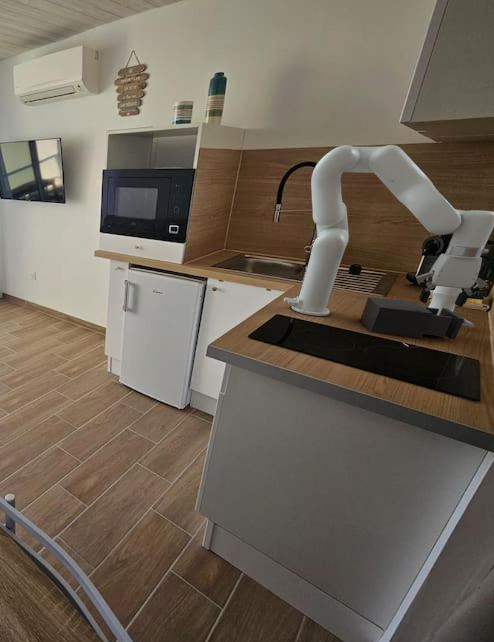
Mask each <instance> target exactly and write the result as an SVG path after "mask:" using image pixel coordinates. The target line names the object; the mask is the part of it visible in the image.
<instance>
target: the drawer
mask: <svg viewBox="0 0 494 642" xmlns="http://www.w3.org/2000/svg"><path fill="white" fill-rule="evenodd" d="M423 307H424V308H426V309H427V310H429V311H430V312H432V313H433V314H432V317H431V319H430V321H429V323H428V326H427V328H426V330H425V332H424V335H427V336H433V337H434V336H435V337H441V338H442V337H446V338H448V339H449V340H454V341H455V340H456V338H457V336H458V334H459V333H460V330H461V329H462V326H463V327H464V326H465V327H468V328H469V329H473V328H475V327H476V326H475V324H474V323H472V322H471V321H469V320H467V319H466V318H465V317H462V316H460V315H458V314H457V313H456V312H454V311H453V312H452V311H451V310H449V309H447V308H442V310H441V312H440V315H437V313H438V311H439V309H438V308H429V306H423Z"/></svg>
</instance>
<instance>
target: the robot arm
mask: <svg viewBox="0 0 494 642" xmlns="http://www.w3.org/2000/svg"><path fill="white" fill-rule="evenodd" d="M343 173H363V174H364V173H365V174H366V173H367V174H374V175H376V177H377V178H378V179H379V180H380V181H381V182H382V184H383V185H384V186H385V187H386V188H387V189H388V190H389V192H391V194H392V195H393V196H394V197H395V198H396V199H397V200H398V201H399V202H400V203H402V204H403V205H404V206H405V207H406V208H407V209H408V210H409V211H410V212H411V214H413V215H414V217H415V218H416V219H417V220H418V221H419V223H420V224H421V225H422V226H423V228H425V229H426V230H427V231H428V232H429V233H430V234H432V235H437V236H443V235H447V234H451V233H453V234H452V236H451V238H450V241H449V244H448V246H447V248H446V251H445V253H441V254H439V256H438V258H437V259H436V261H434V263H433V265H432V267H431V269H430V271H429V272H427V273H424V274H421V275H417V276H416V277H415V279H416V281H417V284H418V286H419V287H420V288H421V293H420V295H419V302H421V303H423V304H427V303H428V301H429V298H430V296H431V295H432V294H431V293H432V292H431V290H433V289H434V288H436V286H444V287H455V288H461V290H462V293H459V295H458V297H457V299H456V301H455V304H456V305H455V306H457V307H460V308H463V306H464V305H465V304H466V303H467V301H468V299H469V296H472V295H473V294H475V293H477V292H479V291H480V290H481V289H483V288H484V287H486V286H487V285H488V283H487V282H486V281H485V280H483V279H482V278H480V277H478V276H479V273H480V270H481V266H482V260H483V258H482V257H481V256H482V255H485V254H488V252H489V249H488V248H486V244H487V242H488V241H489V238H490V236H491V235H492V232H493V230H494V211H492V210H491V211H490V210H476V209H475V210H473V209H472V210H462V209H455V208H454V206H452V204H451V203H450V202H449V201H448V200H447V199H446V198H445V197H444V196H443V195H442V194H441V193H440V191H438V189H437V188H436V186H435V185H434V184H433V182H432V181H431V179H430V178H429V177H428V176H427V175H426V174H425V173H424V172H423V170H421V169H420V167H419V166H418V165H417V164H416V163H415V162H414V161H413V160H412V158H410V156H409V155H408V154H407V153H406V152H405V151H404V149H402V148H401V147H400V146H398V145H395V144H388V145H383V146H353V145H349V144H343V145H340V146H337V147H335V148H333V149H331V150H330V151H329V152H328V153H325V155H323V157H321V159H320V160H319V161H318V162H317V163H316V165H315V167H314V169H313V171H312V174H311V179H310V180H311V181H310V186H311V187H310V189H311V203H312V204H311V205H312V221H313V222H314V223H315V224H316V225H315V226H316V235H317V236H316V237H315V239H314V241H313V244H312V248H311V252H310V256H309V260H308V264H307V268H306V271H305V274H304V278H303V281H302V285H301V289H300V291H299V296H298V295H297V296H296V297H293V298H290V297H284V298H283V303H287V304H288V305H291V307H290V308H291V309H292V310H293V311H295V312H297V313H300V314H304V315H308V316H315V317H325V316H329V315H330V312H331V311H330V309H329V308H327V306H328V303H329V300H330V297H331V294H332V290H333V287H334V285H335V282H336V278H337V274H338V271H339V269H340V265H341V262H342V259H343V256H344V253H345V251H346V248H347V245H348V244H349V239H350V235H349V223H348V208H347V206H346V204H345V202H343V195H342V181H341V178H342V176H343ZM425 280H426V283H425Z"/></svg>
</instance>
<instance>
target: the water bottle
mask: <svg viewBox="0 0 494 642" xmlns="http://www.w3.org/2000/svg"><path fill="white" fill-rule="evenodd" d="M434 288H435V289H434V290H433V292H432V299H431V302H430V304H429V305H428V307H429V308H438V309H439V311H438V313H437V315H440V312H441V310H442V308H447V309H449V310H451V311H452V312H454V311H455V307H456V306H457V305H456V304H455V301H456V299H457V297H458V295H459V293H462V290H461V288H455V287H444V286H436V287H434Z"/></svg>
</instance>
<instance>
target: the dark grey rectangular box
mask: <svg viewBox="0 0 494 642" xmlns="http://www.w3.org/2000/svg"><path fill="white" fill-rule="evenodd" d="M424 307H425V306H423V305H421V304H420V303H418V302H417V301H408V300H399V299H389V298H382V297H381V298H380V297H373V296H372V297H371V296H368V297H367V299H366V302H365V305H364V308H363V311H362V314H361V316H360V320H359V321H360V322H361V323H362V324H363V325H364V326H365V327H366V328H367V329H368V330H369V332H371V333H376V334H384V335H385V334H386V335H393V336H401V337H407V338H414V339H423V336H424V335H425V334H424V332H425V330H426V328H427V326H428V323H429V321H430V319H431V317H432V314H433V313H432V312H430V311H429V310H427V309H426V308H424Z"/></svg>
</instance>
